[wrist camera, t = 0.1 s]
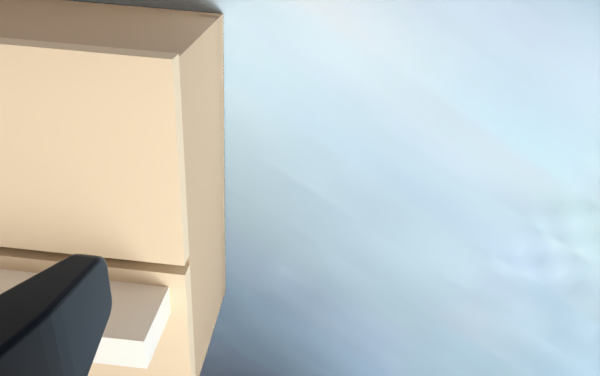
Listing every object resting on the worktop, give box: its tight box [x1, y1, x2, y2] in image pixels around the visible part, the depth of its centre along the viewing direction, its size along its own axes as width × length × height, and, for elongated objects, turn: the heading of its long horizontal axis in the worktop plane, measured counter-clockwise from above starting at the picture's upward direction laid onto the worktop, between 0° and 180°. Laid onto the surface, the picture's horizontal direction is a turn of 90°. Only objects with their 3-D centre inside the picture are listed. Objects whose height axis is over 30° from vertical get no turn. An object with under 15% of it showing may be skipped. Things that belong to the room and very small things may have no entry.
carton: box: [0, 0, 225, 376], centre depth 21 cm, size 14×16×6 cm
